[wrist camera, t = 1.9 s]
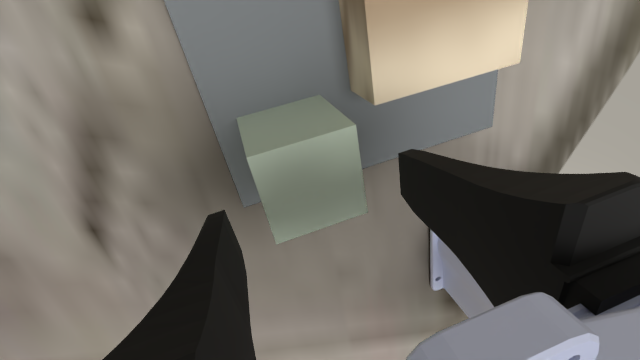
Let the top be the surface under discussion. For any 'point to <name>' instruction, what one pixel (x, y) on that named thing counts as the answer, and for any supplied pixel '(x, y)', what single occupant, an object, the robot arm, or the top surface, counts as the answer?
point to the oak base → (427, 43)
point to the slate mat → (308, 79)
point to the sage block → (304, 166)
